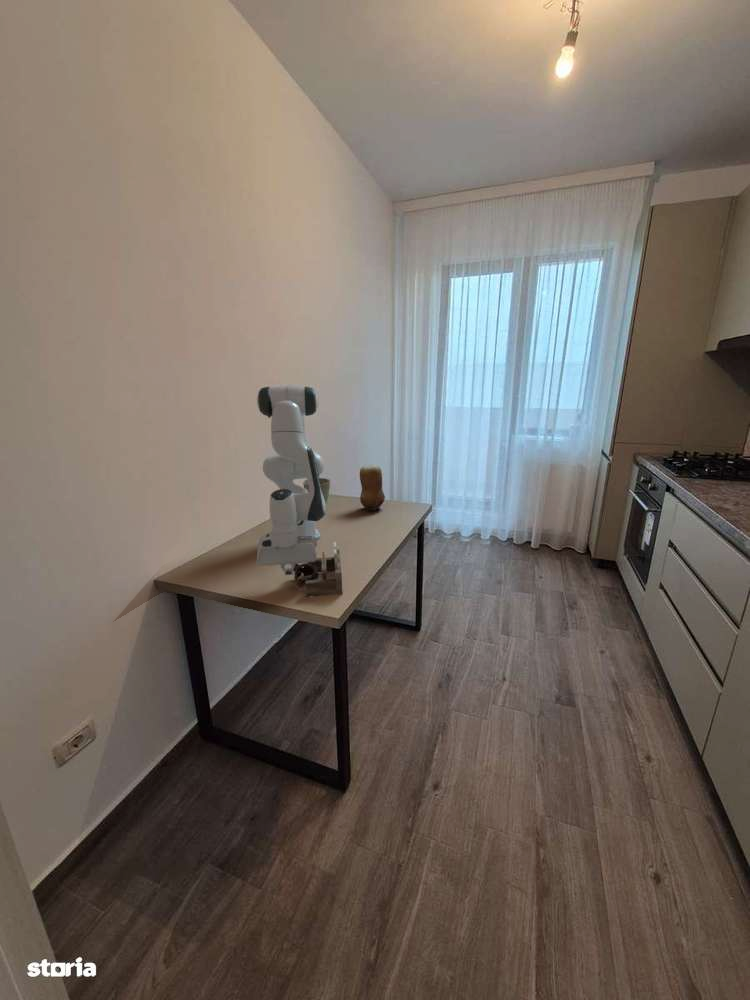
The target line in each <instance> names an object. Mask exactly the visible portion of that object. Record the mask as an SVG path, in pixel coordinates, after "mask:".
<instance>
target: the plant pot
mask: <svg viewBox="0 0 750 1000" xmlns="http://www.w3.org/2000/svg"><path fill="white" fill-rule="evenodd" d="M319 478H320V483H321V488H322V493H323V497H324V499H325V503H326V504H328V500H329V499H328V498H329V494H330V486H331V480H330V479H329V478H324V477H319ZM302 484H303V488H305V489H306V490H307V491H308V493H309V492H310V490H309V485H308V480H307V479H305V480H302Z"/></svg>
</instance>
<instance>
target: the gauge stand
mask: <svg viewBox="0 0 750 1000" xmlns="http://www.w3.org/2000/svg"><path fill="white" fill-rule="evenodd" d="M340 552H341V551H340V549H339V548H337V542H336V540H333V556H331V557H326V565H327V573H332V571H335V572H334V575H335V577H334V578H327V579H322V578H321V579H316V580H309V581H305V586H304V587H305V597H306V598H311V597H310V596H314V597H325V596H326V597H327V596H336V595H343V593H344V592H343V577H342V574H343V573H342V564H341V563H342V562H341V554H340ZM307 563H309V564H311V565H313V566H315V567H316V569H317V570H318V571H319V572H322V557H317V560H316V561H315V562H307Z"/></svg>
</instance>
